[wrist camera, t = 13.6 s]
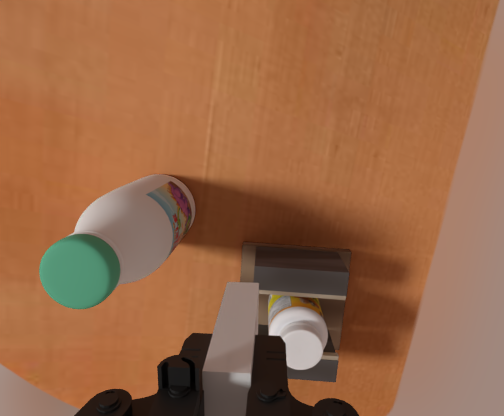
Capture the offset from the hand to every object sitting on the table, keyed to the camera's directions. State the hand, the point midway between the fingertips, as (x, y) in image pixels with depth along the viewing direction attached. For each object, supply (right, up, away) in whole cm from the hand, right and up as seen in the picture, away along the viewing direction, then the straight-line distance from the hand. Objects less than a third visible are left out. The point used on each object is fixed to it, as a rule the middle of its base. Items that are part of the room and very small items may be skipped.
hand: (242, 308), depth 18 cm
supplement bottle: (+5, -5, +25) cm, 26 cm away
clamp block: (+5, -5, +26) cm, 27 cm away
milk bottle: (-10, +5, +24) cm, 27 cm away
